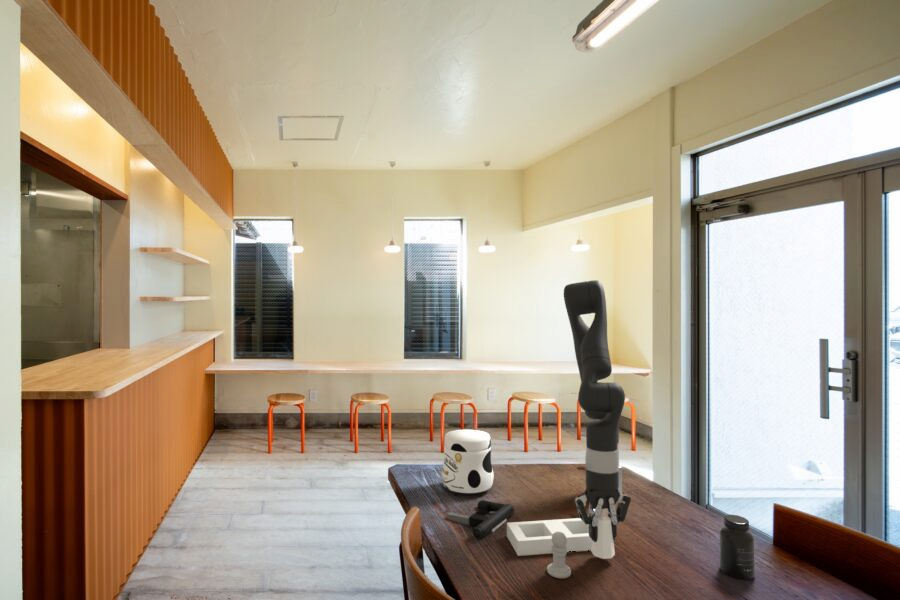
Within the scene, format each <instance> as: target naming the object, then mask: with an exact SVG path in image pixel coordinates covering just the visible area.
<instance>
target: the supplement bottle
mask: <svg viewBox="0 0 900 600" xmlns="http://www.w3.org/2000/svg"><path fill="white" fill-rule="evenodd" d="M723 520H724V521H723V526H722V527H721V528H720V529H719V533H718V534H719V536H718V537H719V540H718V541H719V546H718V547H719V567H720V569H721V571H722V572H723V573H724V574H726V575H728V576H729V577H731V578H734V579H736V580H743V581H749V580H753V578H755V576H756V553H755V551H756V548H755V547H756V545H755V544H756V543H755V537H754V536H753V534H752V533H751V532H750V522H749V520H748V519H747V518H745V517H744V516H741V515H737V514H726V515H724V517H723Z"/></svg>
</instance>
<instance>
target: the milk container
mask: <svg viewBox="0 0 900 600" xmlns="http://www.w3.org/2000/svg"><path fill="white" fill-rule="evenodd" d="M491 454H492V438H491V435H490V434H489V432H486V431H483V430H478V429H476V430H475V429H467V428H466V429H465V428H464V429H454V430H450V431H447V432H446V433H445V435H444V462H443V465H442V470H441V480H442V481H441V482H442V486H443V487H444V488H445V489H446V490H447V491H448V492H451V493H454V494H457V495H463V496H464V495H465V496H471V495H472V496H473V495H480V494H484V493H486V492H487V491H489V490H490V489H491V488H492V487H493V483H494V475H495V474H494V470H493V466H492V460H491V459H492V455H491Z"/></svg>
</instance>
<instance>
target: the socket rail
mask: <svg viewBox="0 0 900 600" xmlns="http://www.w3.org/2000/svg"><path fill="white" fill-rule="evenodd" d="M555 532H562V533H563V534H564V535H565V536H566V539H567V543H566V545H565V546H566V548H567V550H566V552H567V553H573V552H572V551H576V552H589V551H591V544H592V539H591V538H590V537H589V524H585V523H584V522H583V521H582V520H581V518H580V517H576V518H575V517H574V518H561V519H560V518H559V519H558V518H557V519H544V520H531V521H530V520H527V521H514V522H513V521H512V522H506V538H507V539H508V541H509V543H510V545H511V546H512V547H513V549H514V551H515V553H516V555H517V556H518V557H519V556H520V557H521V556H535V555H546V554H552V545H553V543H552V535H553V534H554V533H555ZM588 550H589V551H588ZM569 551H571V552H569Z"/></svg>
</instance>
